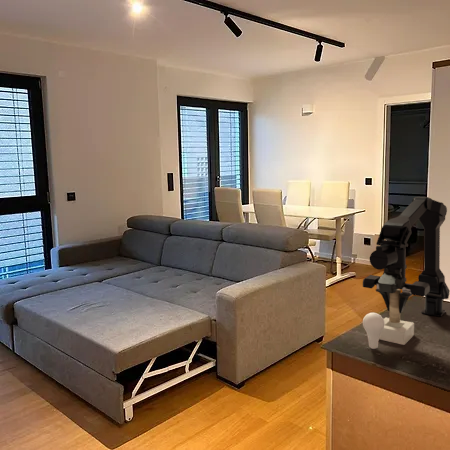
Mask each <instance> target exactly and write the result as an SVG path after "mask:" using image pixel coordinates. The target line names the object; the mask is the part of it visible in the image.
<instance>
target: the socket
mask: <svg viewBox="0 0 450 450" xmlns="http://www.w3.org/2000/svg"><path fill="white" fill-rule="evenodd" d="M383 319H384V323H385V325H384V328H383V330H382V332H381V333H380V336H379V341H386V342H389V343H395V344H398V345H402V346H404V345H406V344H407V343H408V342H409V341H410V340H411V339H412V338H413V337H414V336H415V323H414V322H413V321H407V320H401V319H400V322H399V323H392V322H390V321H389V317H383Z"/></svg>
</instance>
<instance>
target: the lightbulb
mask: <svg viewBox="0 0 450 450" xmlns="http://www.w3.org/2000/svg"><path fill="white" fill-rule="evenodd" d="M384 325H385V323H384V317H382V315H381V314H379V313H377V312H369V313H367V314H365V316H364V317H363V319H362V327H363V329H364V330H365V332H366V336H367V341H368V346H369V349H370V348H371V349H372V350H375V349H377V348H378V347H379V341H380V339H379V336H380V333H381V332H382V330H383V328H384Z"/></svg>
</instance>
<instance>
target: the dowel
mask: <svg viewBox="0 0 450 450" xmlns="http://www.w3.org/2000/svg"><path fill="white" fill-rule="evenodd" d="M401 291H402V289H397V290H396V292H395V293H390V300H389V311H388V312H389V313H388V314H389V315H388V318H389V321H390V322H392V323H399V322H400V320H401V313H400V312H399V307H400V293H402V292H401Z"/></svg>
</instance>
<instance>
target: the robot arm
mask: <svg viewBox="0 0 450 450" xmlns="http://www.w3.org/2000/svg"><path fill="white" fill-rule="evenodd" d="M447 212H448V207H447V206H446V205H445V204H444V203H443V202H441V201H438V200H435V199H432V198H430V197H429V196H415V197H413V198H412V201H411V203H409V205H408V206H406V208H404V210H403V211H402V212H401V213H400V214H399V215H398V216H396V217H393V218H389V220H387V221H385V222H384V224H383V225H382V226H381V229H380V232H379V236H378V238H377V241H376V247H375V250H373V251H372V252H371V253H370V256H369V263H370V264H371V266H372V267H373V269H376V270H377V271H379V270H380V271H381V270H383V273H382V275H372V274H369V275H367V276H366V277H365V278H363V280H362V287H363V288H367V289H373V288H375V286H376V288H375V292H377V293H379V294H380V295H381V297H382V299H383V301H384V304H385V306H386V309H387V311H388V312H389V300H390V293H395V292H396V290H397V289H400V290H401V291H402V292H401V293H400V307H399V312H400V314H402V313H403V311H404V308H405V307H406V304H407V302H408V299H410V297H411V296H417V297H424V309H423V310H422V311H421V314H424V315H429V316H435V317H440V318H441V317H442V316H443V315H444V314H445V313H446V309H444V308H443V305H444V303H443V302H444V300H448V299H449V297H450V289H449V287H448V285H447V283H446V278H445V277H446V276H445V274H444V273H443V271H442V270H441V269H440V266H441V265H440V264H441V263H440V260H441V259H440V255H441V253H440V250H441V247H440V246H441V245H440V241H441V237H440V236H441V227H442V225H443V223H444V222H445V220H446V216H447ZM418 220H419V222H420V224H421V226H422V228H423V229H424V231H423V232H424V234H423V235H424V236H423V237H424V238H423V242H424V244H423V246H424V247H423V248H424V249H423V251H424V252H423V253H424V254H423V257H424V259H423V262H424V263H423V270H422V271H421V273H420V274H419V275H418V281H414V282H413V283H407V277H406V270H407V268H408V267H407V266H408V265H407V263H406V259H407V258H406V253H407V252H406V251H407V248H408V246H409V243H408V241H409V239H410V237H411V235H412V227H413V226H414V225H415V224H416V222H417V221H418ZM406 247H407V248H406Z"/></svg>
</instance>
